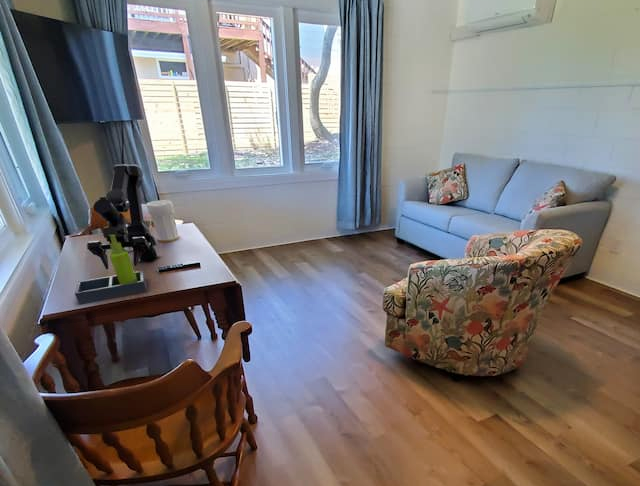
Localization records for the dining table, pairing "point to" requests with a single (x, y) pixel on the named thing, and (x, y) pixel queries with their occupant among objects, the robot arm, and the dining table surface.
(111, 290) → the divided storage box
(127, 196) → the robot arm
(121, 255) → the soap dispenser
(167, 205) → the white upright cylinder
